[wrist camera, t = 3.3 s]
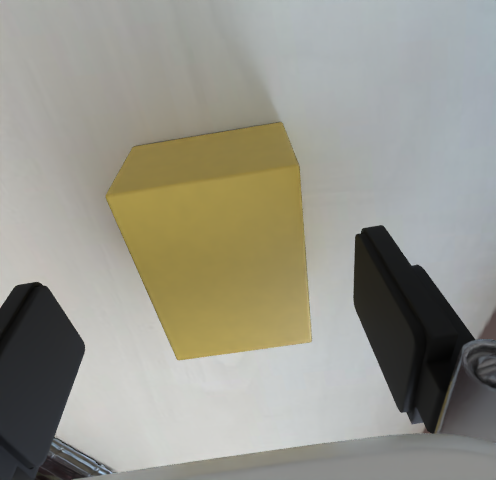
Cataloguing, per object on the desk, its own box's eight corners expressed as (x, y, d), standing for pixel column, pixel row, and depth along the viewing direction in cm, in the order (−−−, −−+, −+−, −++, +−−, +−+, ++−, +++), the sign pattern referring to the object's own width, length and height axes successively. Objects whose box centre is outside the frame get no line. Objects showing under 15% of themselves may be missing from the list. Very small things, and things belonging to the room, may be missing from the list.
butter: (282, 120, 12) (299, 164, 9) (297, 279, 16) (312, 343, 13) (132, 146, 12) (103, 196, 9) (185, 295, 16) (176, 361, 13)
